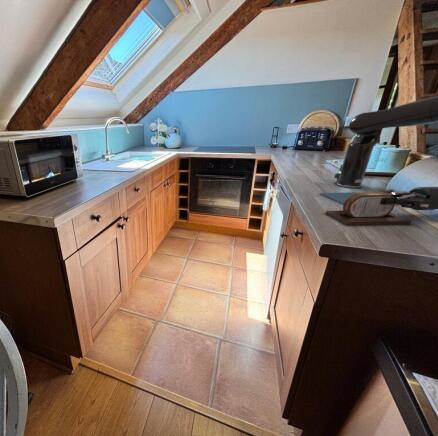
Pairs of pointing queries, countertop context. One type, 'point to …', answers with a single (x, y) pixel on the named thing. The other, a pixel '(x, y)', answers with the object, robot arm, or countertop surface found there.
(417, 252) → the countertop surface
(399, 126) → the robot arm
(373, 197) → the tin
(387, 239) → the countertop surface
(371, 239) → the countertop surface
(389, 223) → the stand
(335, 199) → the mat
